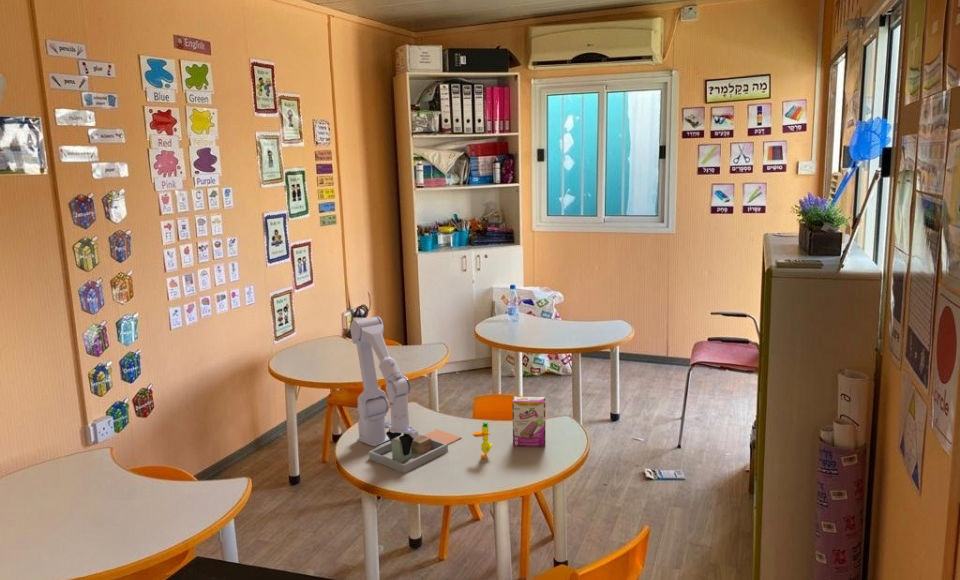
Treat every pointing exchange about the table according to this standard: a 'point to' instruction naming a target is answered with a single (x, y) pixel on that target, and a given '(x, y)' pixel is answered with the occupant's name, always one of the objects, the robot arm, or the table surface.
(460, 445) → the table surface
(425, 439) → the walnut block
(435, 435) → the mat
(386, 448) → the parts bin
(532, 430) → the candy bar box
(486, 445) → the toy figure
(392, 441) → the labelled box
